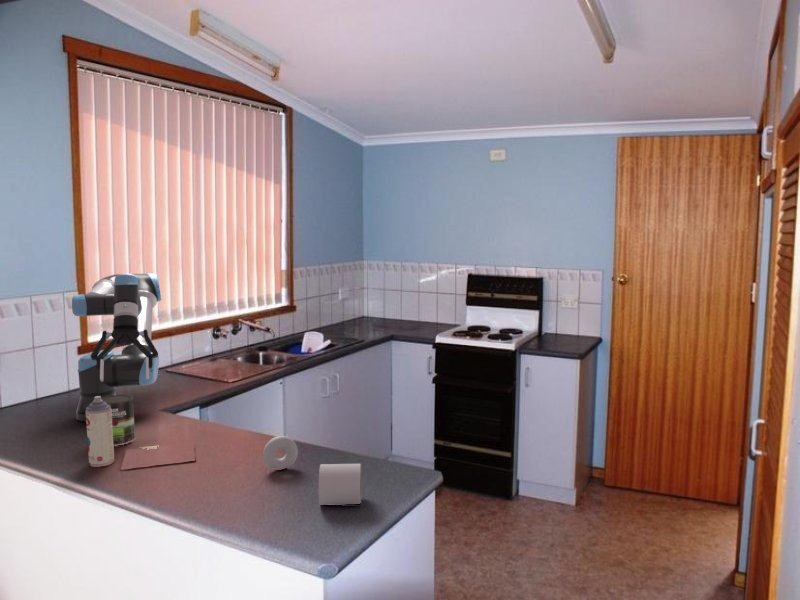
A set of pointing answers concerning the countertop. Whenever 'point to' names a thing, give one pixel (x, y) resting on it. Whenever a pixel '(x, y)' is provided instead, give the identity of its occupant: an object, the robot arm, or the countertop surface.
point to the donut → (276, 444)
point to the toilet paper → (340, 484)
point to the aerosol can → (99, 432)
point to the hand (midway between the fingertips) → (124, 379)
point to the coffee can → (121, 418)
